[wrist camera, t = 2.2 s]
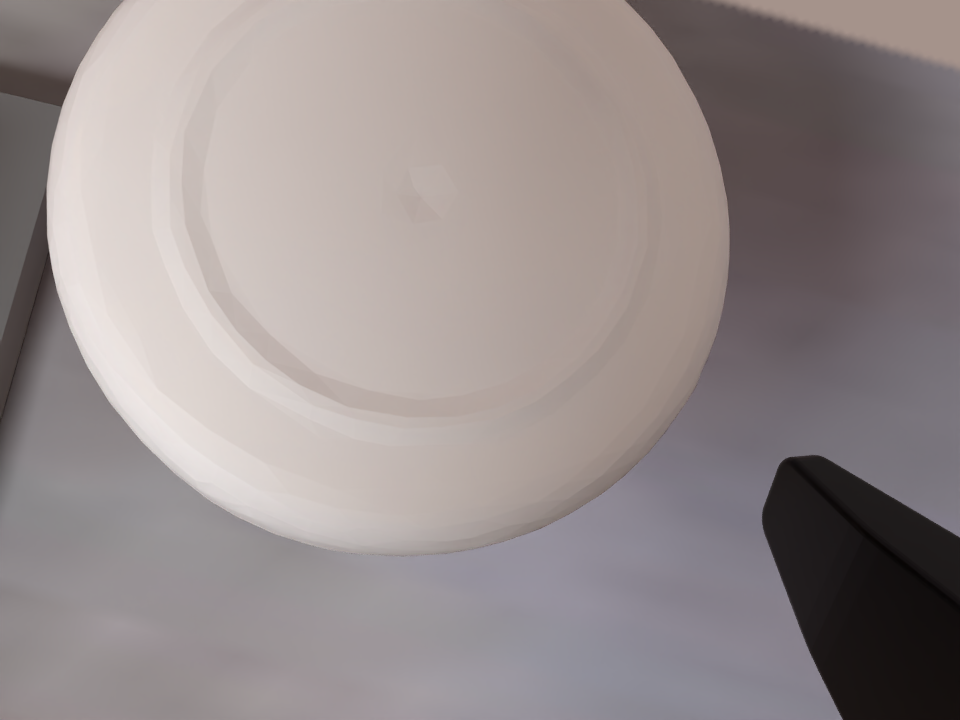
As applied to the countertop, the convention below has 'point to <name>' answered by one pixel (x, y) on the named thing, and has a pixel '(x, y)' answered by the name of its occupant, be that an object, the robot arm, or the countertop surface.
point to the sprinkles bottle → (389, 256)
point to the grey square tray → (22, 219)
